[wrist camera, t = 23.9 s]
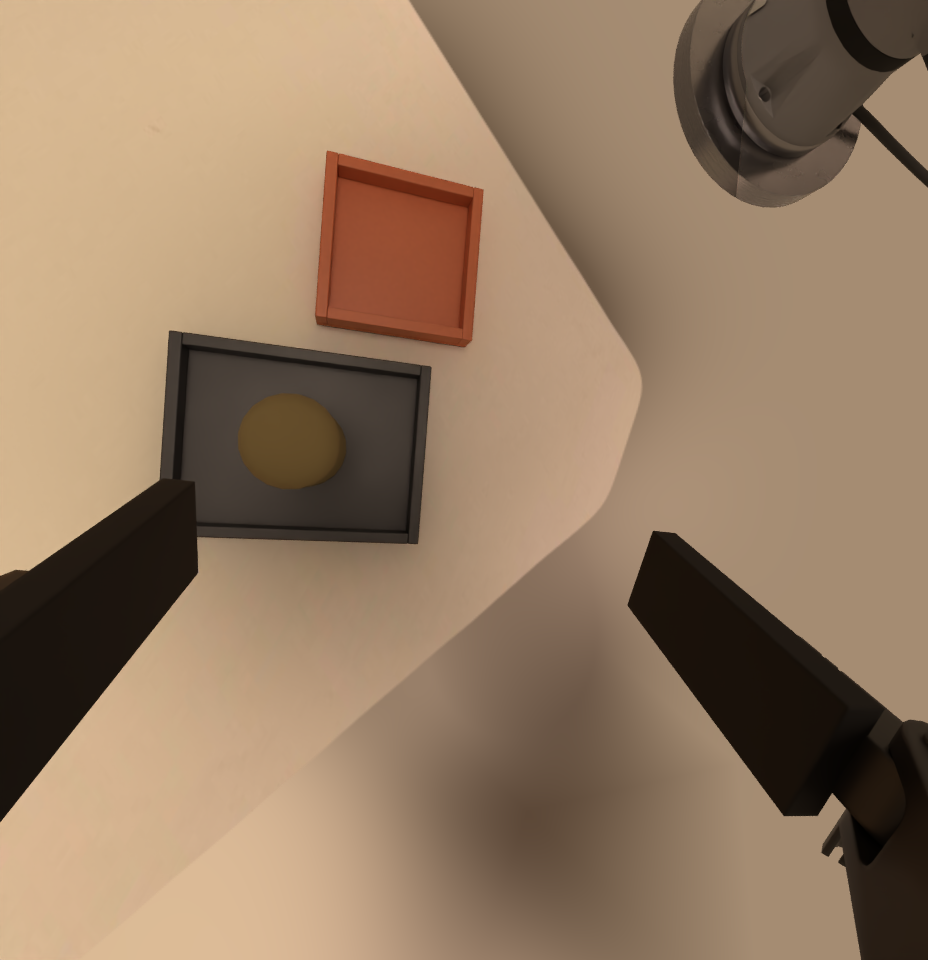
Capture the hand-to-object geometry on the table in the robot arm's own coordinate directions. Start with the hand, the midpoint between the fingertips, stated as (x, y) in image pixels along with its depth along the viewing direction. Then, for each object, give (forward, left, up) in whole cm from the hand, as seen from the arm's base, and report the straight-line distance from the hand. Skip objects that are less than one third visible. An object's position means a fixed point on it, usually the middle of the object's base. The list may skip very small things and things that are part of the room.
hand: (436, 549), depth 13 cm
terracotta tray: (0, -18, -23) cm, 30 cm away
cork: (+6, -3, -23) cm, 24 cm away
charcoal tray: (+6, -3, -23) cm, 24 cm away
